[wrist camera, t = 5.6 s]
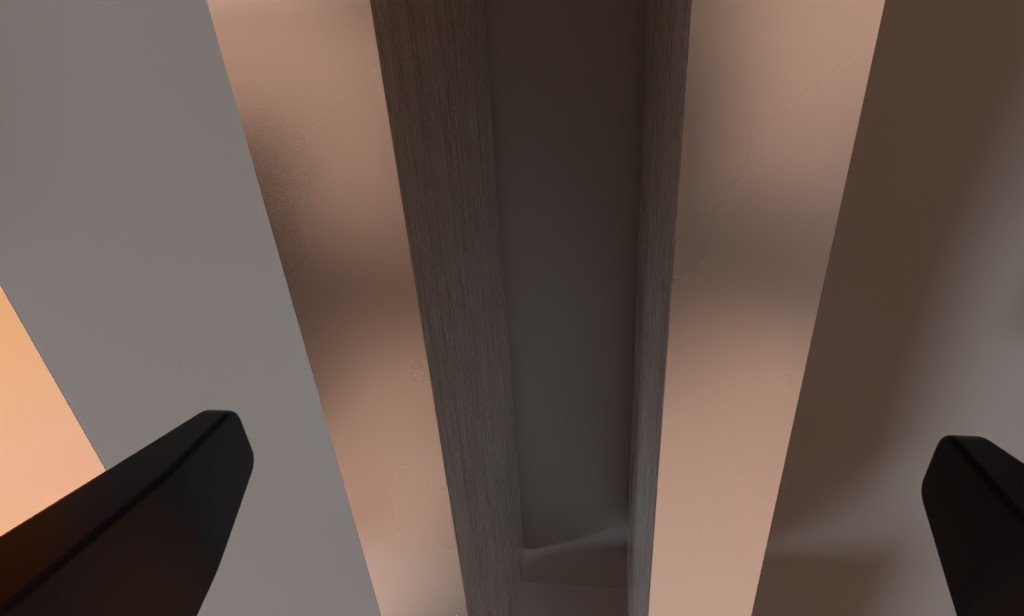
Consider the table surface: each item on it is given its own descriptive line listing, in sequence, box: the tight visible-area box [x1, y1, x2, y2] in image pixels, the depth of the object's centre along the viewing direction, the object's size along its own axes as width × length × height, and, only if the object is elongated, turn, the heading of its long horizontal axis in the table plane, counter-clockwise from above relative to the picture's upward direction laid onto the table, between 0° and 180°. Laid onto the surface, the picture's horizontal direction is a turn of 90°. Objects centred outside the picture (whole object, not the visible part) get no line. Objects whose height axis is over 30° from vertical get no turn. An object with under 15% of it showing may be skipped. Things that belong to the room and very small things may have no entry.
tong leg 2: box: [626, 0, 885, 616], centre depth 7 cm, size 14×1×4 cm, turn 4°
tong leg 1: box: [207, 0, 524, 616], centre depth 7 cm, size 14×1×4 cm, turn 3°
